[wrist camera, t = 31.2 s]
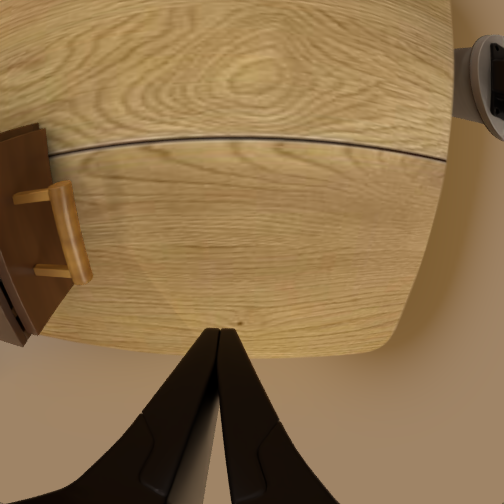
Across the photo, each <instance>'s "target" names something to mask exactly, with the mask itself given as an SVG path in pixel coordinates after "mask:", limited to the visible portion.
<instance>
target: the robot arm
mask: <svg viewBox="0 0 504 504" xmlns="http://www.w3.org/2000/svg"><path fill="white" fill-rule="evenodd" d="M490 54H491V101H490V112H491V114H492V115H493V116H494V117H496V118H498V119H500V120H502V121H504V48H503V47H502V46H500V45H499V44H497V43H491V44H490ZM495 110H496V112H495ZM219 403H220V413H221V423H222V432H223V441H224V450H225V458H226V466H227V473H228V481H229V489H230V496H231V502H232V504H339V503H338V501H337V500H335V498H334V497H333V496H332V495H331V493H330V492H329V491H328V490H327V489H326V487H325V486H324V485H323V484H322V483H321V481H320V480H319V479H318V478H317V476H316V475H315V474H314V473H313V472H312V470H311V469H310V468H309V466H308V465H307V464H306V462H305V461H304V459H303V458H302V457H301V455H300V454H299V452H298V451H297V449H296V448H295V446H294V444H293V443H292V441H291V439H290V438H289V436H288V434H287V432H286V431H285V429H284V427H283V425H282V423H281V422H280V421H279V418H278V416H277V414H276V412H275V410H274V408H273V406H272V404H271V402H270V400H269V398H268V396H267V394H266V392H265V390H264V388H263V386H262V384H261V382H260V380H259V378H258V376H257V374H256V372H255V370H254V368H253V366H252V364H251V361H250V359H249V357H248V355H247V353H246V351H245V349H244V347H243V345H242V342H241V340H240V338H239V336H238V334H237V332H236V330H235V329H233V328H222V329H221V330H220V329H219V328H206V329H205V330H204V331H203V332H202V333H201V335H200V336H199V337H198V339H197V340H196V341H195V343H194V344H193V345H192V347H191V348H190V349H189V351H188V352H187V353H186V355H185V356H184V357H183V358H182V360H181V361H180V363H179V364H178V365H177V366H176V368H175V369H174V370H173V372H172V373H171V374H170V376H169V377H168V378H167V379H166V381H165V382H164V384H163V385H162V386H161V387H160V389H159V390H158V391H157V393H156V394H155V395H154V396H153V398H152V399H151V400H150V402H149V403H148V404H147V405H146V407H145V408H144V409H143V411H142V414H139V416H138V417H137V418H136V420H135V421H134V422H133V424H132V425H131V426H130V427H129V428H128V429H127V431H126V432H125V433H124V434H123V436H122V437H121V438H120V439H119V440H118V441H117V442H116V443H115V444H114V445H113V446H112V447H111V448H110V449H109V450H108V451H107V452H106V453H105V454H104V455H103V456H102V457H101V458H100V459H99V460H98V461H97V462H96V463H94V464H93V465H92V466H91V467H90V468H89V469H88V470H87V471H86V472H85V473H84V474H83V475H82V476H81V477H80V478H78V479H77V480H76V481H74V482H73V483H71V484H70V485H68V486H66V487H64V488H62V489H59V490H56V491H53V492H50V493H47V494H43V495H40V496H37V497H33V498H29V499H25V500H21V501H17V502H12V503H8V504H203V499H204V493H205V487H206V480H207V474H208V469H209V463H210V456H211V450H212V445H213V439H214V433H215V426H216V421H217V415H218V409H219ZM0 504H3V503H1V502H0ZM503 504H504V503H503Z"/></svg>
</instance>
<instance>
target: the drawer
mask: <svg viewBox="0 0 504 504" xmlns="http://www.w3.org/2000/svg"><path fill="white" fill-rule="evenodd" d="M0 278H1V280H2V282H1V280H0V287H1V289H2V291H3V293H4V296H5V298H6V300H7V302H8V304H9V306H10V308H11V310H12V312H13V314H14V316H15V318H16V317H17V315H18V316H19V318H20V320H21V322H22V324H23V326H24V328H25V330H26V331H27V333H29V334H33V335H37V336H38V335H39V334H40V332H41V331H42V329H43V328H44V326H45V325H46V323H47V322H48V320H49V319H50V317H51V316H52V314H53V313H54V311H55V310H56V308H57V307H58V305H59V304H60V303H61V301H62V300H63V298H64V297H65V296H66V294H67V293H68V291H69V290H70V289H71V287H72V286H73V285H74V284H76V285H83V284H86V283H88V282H89V281H91V280H92V278H93V274H92V270H91V267H90V263H89V260H88V256H87V253H86V249H85V245H84V241H83V237H82V233H81V229H80V224H79V220H78V215H77V210H76V205H75V200H74V195H73V189H72V183H71V181H70V180H65V181H61V182H57V183H55V184H53V183H52V177H51V171H50V164H49V157H48V149H47V140H46V129H45V128H44V129H40V130H37V131H33V132H30V133H27V134H23V135H20V136H17V137H14V138H11V139H8V140H5V141H2V142H0Z"/></svg>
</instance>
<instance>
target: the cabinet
mask: <svg viewBox="0 0 504 504" xmlns="http://www.w3.org/2000/svg"><path fill="white" fill-rule="evenodd" d="M37 130H39V123H34V124H30V125H26V126H23V127H19V128H16V129H12V130H9V131H5V132H2V133H0V142H2V141H5V140H8V139H11V138H14V137H17V136H20V135H23V134H27V133H30V132H33V131H37ZM30 336H31V334H29V333H27V331H26V330H25V328H24V326H23V324H22V322H21V320H20V318H19V316H18V315H17V317H16V318H15V316H14V314H13V312H12V310H11V308H10V306H9V304H8V302H7V300H6V298H5V296H4V293H3V291H2V289H1V287H0V340H2V341H4V342H8V343H11V344H14V345H17V346H21V347H24V345H25V344H26V342H27V339H28V338H29V337H30Z"/></svg>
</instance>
